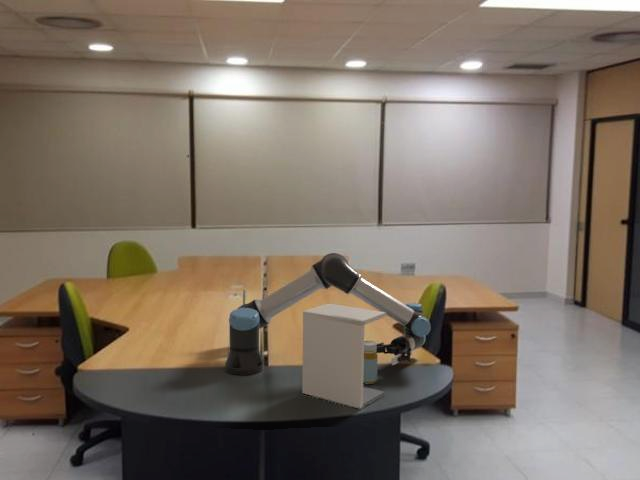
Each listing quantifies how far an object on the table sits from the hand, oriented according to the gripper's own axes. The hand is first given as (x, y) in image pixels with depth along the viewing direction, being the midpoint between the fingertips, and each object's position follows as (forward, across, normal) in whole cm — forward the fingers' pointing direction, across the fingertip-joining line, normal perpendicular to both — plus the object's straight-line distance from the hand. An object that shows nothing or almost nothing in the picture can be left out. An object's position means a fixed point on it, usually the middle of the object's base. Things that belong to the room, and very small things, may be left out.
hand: (376, 358), depth 233 cm
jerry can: (-1, +67, -8) cm, 67 cm away
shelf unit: (+22, +1, -8) cm, 24 cm away
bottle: (+5, +1, -8) cm, 10 cm away
